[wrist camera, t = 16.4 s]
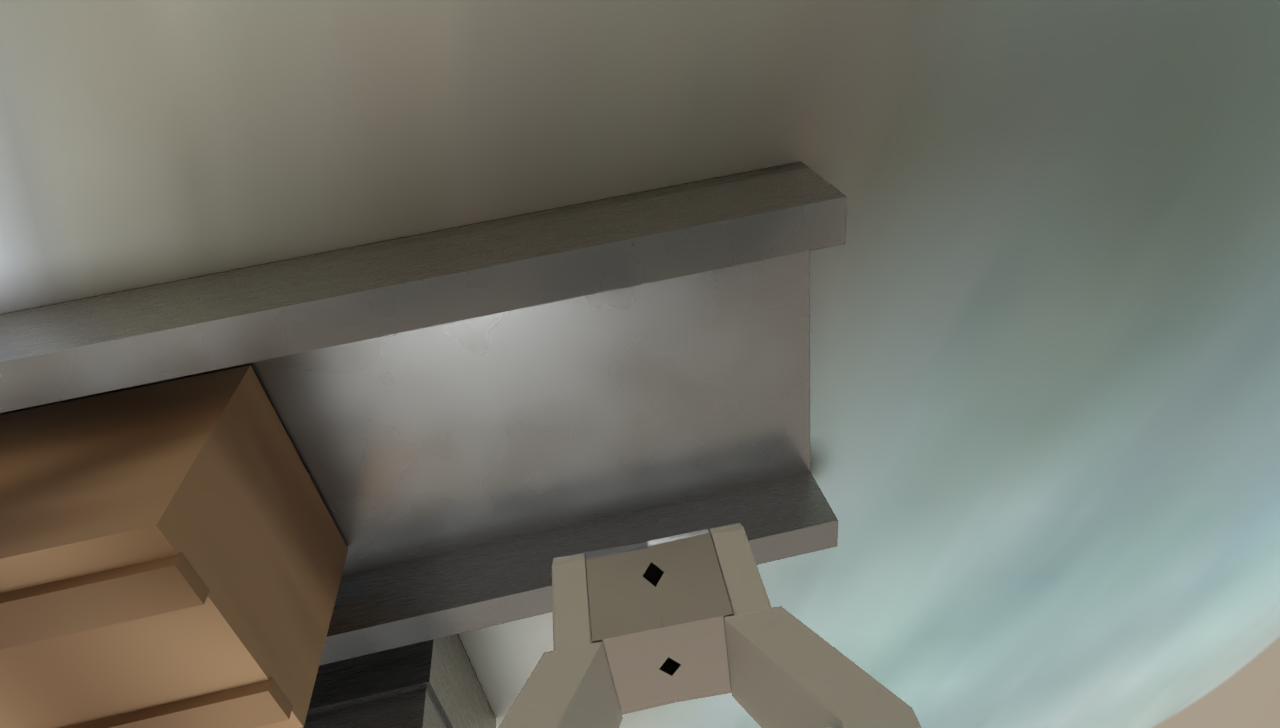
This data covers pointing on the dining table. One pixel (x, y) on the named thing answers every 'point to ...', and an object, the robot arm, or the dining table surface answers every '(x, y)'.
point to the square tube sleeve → (401, 690)
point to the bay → (503, 388)
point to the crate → (161, 561)
